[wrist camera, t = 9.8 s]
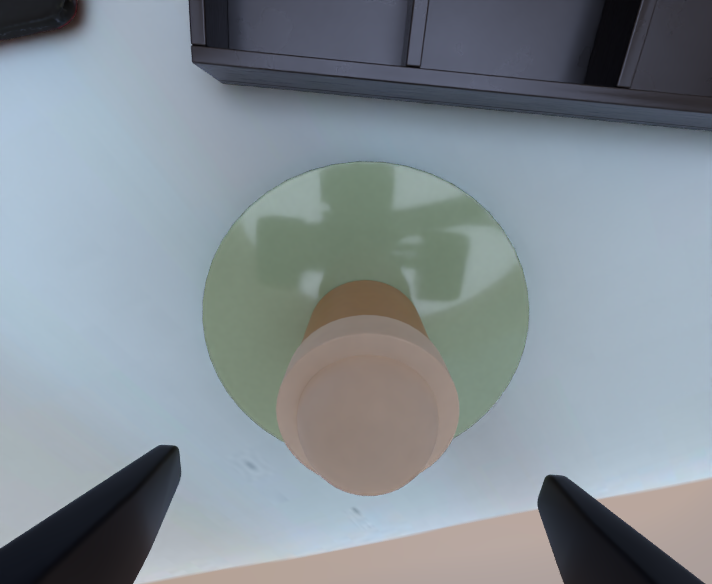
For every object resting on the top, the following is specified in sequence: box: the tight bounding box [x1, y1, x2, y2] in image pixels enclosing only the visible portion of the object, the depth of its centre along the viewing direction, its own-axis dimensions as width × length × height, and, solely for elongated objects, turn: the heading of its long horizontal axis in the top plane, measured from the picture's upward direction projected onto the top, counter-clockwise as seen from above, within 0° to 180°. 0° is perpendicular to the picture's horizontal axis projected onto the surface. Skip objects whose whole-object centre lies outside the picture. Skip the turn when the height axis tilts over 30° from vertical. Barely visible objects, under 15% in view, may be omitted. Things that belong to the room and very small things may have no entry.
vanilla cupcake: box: [276, 280, 459, 496], centre depth 12 cm, size 6×6×8 cm
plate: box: [203, 161, 529, 442], centre depth 16 cm, size 15×15×1 cm
